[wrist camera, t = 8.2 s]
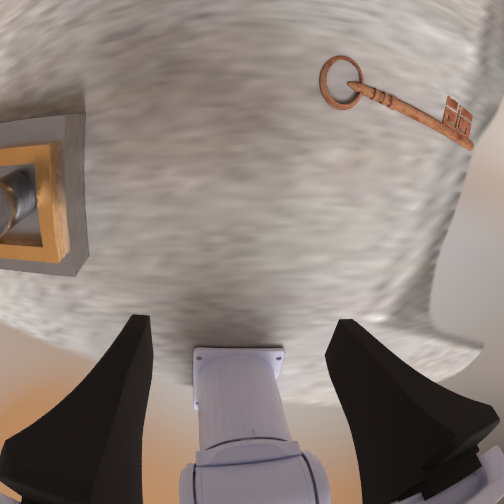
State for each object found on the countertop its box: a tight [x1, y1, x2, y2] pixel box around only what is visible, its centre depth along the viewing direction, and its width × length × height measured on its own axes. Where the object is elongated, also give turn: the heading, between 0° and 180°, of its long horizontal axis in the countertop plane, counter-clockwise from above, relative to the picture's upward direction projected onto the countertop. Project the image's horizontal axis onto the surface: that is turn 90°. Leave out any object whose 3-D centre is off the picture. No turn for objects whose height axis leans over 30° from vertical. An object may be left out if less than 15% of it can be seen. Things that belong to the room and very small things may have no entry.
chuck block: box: [0, 113, 89, 277], centre depth 15 cm, size 10×8×4 cm
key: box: [320, 56, 474, 151], centre depth 17 cm, size 6×1×15 cm
